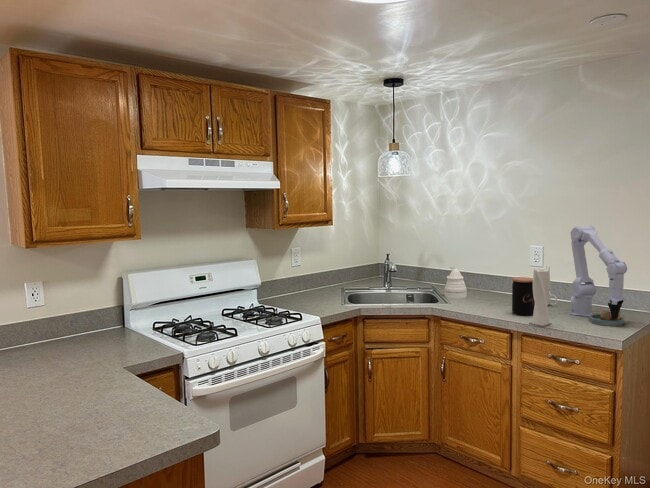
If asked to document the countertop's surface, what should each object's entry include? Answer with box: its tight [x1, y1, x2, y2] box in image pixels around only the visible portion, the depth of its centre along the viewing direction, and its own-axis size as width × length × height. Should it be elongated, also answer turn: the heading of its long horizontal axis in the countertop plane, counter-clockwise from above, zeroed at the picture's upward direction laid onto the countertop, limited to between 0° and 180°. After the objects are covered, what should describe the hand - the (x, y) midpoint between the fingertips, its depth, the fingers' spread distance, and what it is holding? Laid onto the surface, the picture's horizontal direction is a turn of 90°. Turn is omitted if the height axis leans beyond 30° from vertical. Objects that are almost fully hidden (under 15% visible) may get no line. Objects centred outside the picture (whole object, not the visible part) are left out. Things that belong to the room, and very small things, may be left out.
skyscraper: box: [529, 265, 552, 328], centre depth 232 cm, size 8×8×28 cm
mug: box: [547, 291, 558, 306], centre depth 272 cm, size 12×8×8 cm
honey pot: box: [444, 265, 468, 299], centre depth 302 cm, size 13×13×18 cm
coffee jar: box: [511, 276, 535, 317], centre depth 254 cm, size 11×11×18 cm
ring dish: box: [588, 313, 625, 327], centre depth 234 cm, size 14×14×2 cm
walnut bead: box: [599, 310, 611, 321], centre depth 231 cm, size 4×4×5 cm
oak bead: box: [609, 310, 621, 321], centre depth 232 cm, size 4×4×5 cm
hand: (615, 316), depth 232 cm, fingers open, 7 cm apart
